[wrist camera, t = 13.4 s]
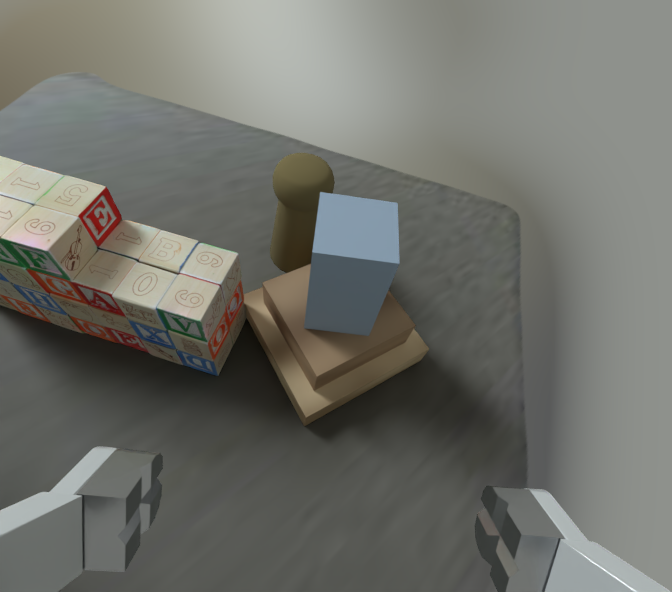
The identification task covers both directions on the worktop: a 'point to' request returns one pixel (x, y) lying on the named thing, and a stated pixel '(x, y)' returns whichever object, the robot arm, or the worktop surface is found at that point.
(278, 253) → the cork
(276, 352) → the plinth
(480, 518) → the robot arm
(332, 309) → the pillar
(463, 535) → the worktop surface
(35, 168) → the stack of blocks
